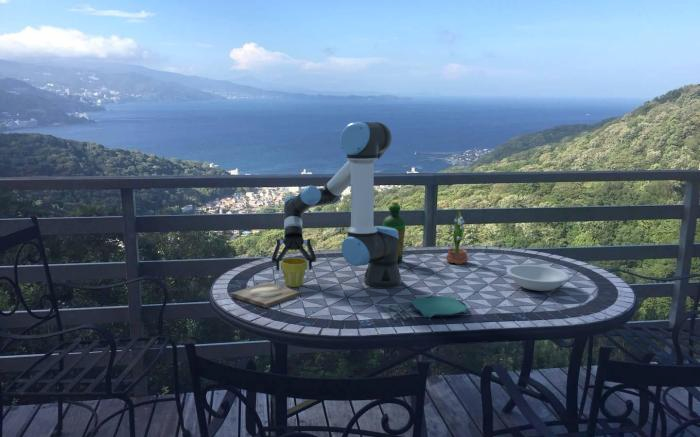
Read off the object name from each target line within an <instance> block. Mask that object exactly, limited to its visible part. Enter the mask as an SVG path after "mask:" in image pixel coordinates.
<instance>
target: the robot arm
mask: <svg viewBox="0 0 700 437" xmlns="http://www.w3.org/2000/svg"><path fill="white" fill-rule="evenodd" d="M392 136H393V135H392V132H391V130H390V128H389V127H388V125H386V124H385V123H383V122H379V121H357V122H351V123H348V124H347V125H346V126H345V127H344V128H343V130H342V132H341V134H340V137H339V138H340V139H339V140H340V142H339V144H340V147H341V149H342V151H343V152H344V153H345V154H346V160H347V161H346V162H345V163H344V164H343V165H342V167H341V168H340V169H339V170H338V171H337V172H336V173H335V174H334V176H332V177H331V179H330V180H329V181H328V182H327V183H326V184H325V185H324V186H323V187H317V186H314V185H308V186H306V187H305V188H303V189H302V190H301V192H299V193H298V194H297V195H295V194H293V195H290V196H287V197H285V198H284V201H283V202H284V204H283V216H284V217H283V222H284V223H283V228H284V231H283V232H284V233H283V234H284V236H283V239H279V238H277V239H276V245H275V248H274V251H273V252H272V253H273V254H272V256H271V263H274V264H275V265H276V269H275V270H276V271H278V274H279V275H278V278H279V279H282V269H281V261H282V260H283V259H284V257H285V256H286V254H287V252H289V251H294V250H295V251H299V252H300V253H301V255H302V256H303V258H304V259H305V260H307V270H306V278H307V279H310V271H312V268H313V266H312V265H313V263H315V262H316V261H317V257H316V254H315V251H314V249H313V246H312V244H311V238H308V239H304V236H303V233H304V232H303V214H304V213H306V212H307V211H308V210H310V209H311V208H316V207H321V206H322V207H323V206H327V205H334V204H337V203H338V202H340V200H341V198H342V194H343V192H345V191H346V190H347V189H348V187H349V186H350V209H351V210H350V213H351V214H350V226H349V227H348V229H347V232H346V233H347V235H346V236H347V237H345V238H344V240H343V241H342V242H341V246H340V247H341V248H340V249H341V254H342V256H343V258H344V260H346V262H347V263H348V264H350V265H351V266H354V267H360V266H367V267H366V271H365V274H364V276H363V278H364V279H363V282H364V284H365V285H367V286H370V287H373V288H379V289H380V288H381V289H382V288H383V289H385V288H386V289H387V288H389V289H390V288H395V287H398V286H400V285H401V284H402V276H401V273H400V269H399V266H398V263H397V260H398V239H399V238H398V231H397V230H396V229H394V228H390V227H383V225H382V226H381V225H375V224H374V222H375V221H374V218H375V217H374V211H375V210H374V208H375V206H374V205H375V204H374V203H375V202H374V200H375V199H374V193H375V192H374V191H375V190H374V186H375V184H374V180H375V179H374V174H375V171H374V166H375V162H376V161H377V160H379V159H380V158H381V157H383V156H384V154H386V152H387V151H388V150H389V148H390V146H391V144H392V141H393V140H392ZM304 244H305V245H306V246H307V250H308V252H309V253H308V252H307V250H306V249H305V248H304V247H303V246H304ZM282 245H284V247H283V249H282V250H281V252H280V249H281V246H282ZM279 252H280V253H279ZM278 254H279V255H278Z"/></svg>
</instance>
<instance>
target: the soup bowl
mask: <svg viewBox="0 0 700 437" xmlns="http://www.w3.org/2000/svg"><path fill="white" fill-rule="evenodd" d="M506 273H507V274H508V275H510V277H511V279H512V280H513V282H515V284H516V285H518V286H519V287H521V288H524V289H527V290H531V291H537V292H538V291H539V292H547V291H548V292H549V291H553V290H555V289H557V288H559V287H560V286H562V285H563V284H564V282H567V281H569V279H570V274H569V273H567V271H563V270H561V269H558V268H556V267H551V266H545V265H541V264H540V265H539V264H538V265H537V264H517V265H511V266H509V267H507V268H506Z"/></svg>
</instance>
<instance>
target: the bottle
mask: <svg viewBox="0 0 700 437" xmlns="http://www.w3.org/2000/svg"><path fill="white" fill-rule="evenodd" d="M388 211H389V215H388V216H386V217H385V218H384V219H383V221H382V227H390V228H394V229H396V230H397V231H398V238H399V239H398V260H397V264H400V263H401V262H403V254H404V246H405V245H404V244H405V234H406V233H405V232H406V220H405V218H403V217H402V216H400V211H401V206H400V204H399V202H398V201H391V204H389V206H388Z"/></svg>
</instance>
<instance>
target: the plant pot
mask: <svg viewBox="0 0 700 437" xmlns="http://www.w3.org/2000/svg"><path fill="white" fill-rule="evenodd" d="M281 271H282V273H283V278H284V279H283V280H284V284H285V285H286V286H287V287H289V288H297V287H301V286H302V285H303V283H304V282H303V281H304V278H305V273H306V271H307V260H306V259H305V258H301V257H287V258H283V259H282V260H281Z"/></svg>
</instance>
